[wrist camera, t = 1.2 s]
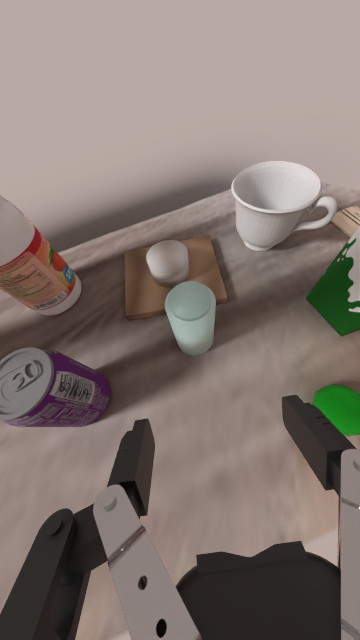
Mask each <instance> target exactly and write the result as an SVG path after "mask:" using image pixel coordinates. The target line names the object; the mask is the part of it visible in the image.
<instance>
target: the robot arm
mask: <svg viewBox="0 0 360 640" xmlns="http://www.w3.org/2000/svg"><path fill="white" fill-rule="evenodd" d="M282 413H283V421H284V425H285V427H286V429H287V431H288V432H289V434H290V435H291V437H292V439H293V440H294V442H295V443H296V445H297V446H298V448H299V450H300V451H301V453H302V454H303V456H304V457H305V459H306V460H307V462H308V464H309V465H310V467H311V468H312V470H313V471H314V473H315V475H316V476H317V478H318V479H319V481H320V482H321V484H322V486H323V487H324V489H325V490H332V489H334V490H335V491H336V493H337V494H338V496H339V504H338V557H337V566H335V565H334V564H332V563H331V562H329V561H328V560H326V559H324V558H322V557H320V556H318V555H315V554H313V553H310V552H306V551H305V549H304V547H303V545H302V542H301V541H296V542H289V543H281V544H275V545H273V546H271V547H269V548H268V549H266V550H264V551H262V552H260V553H259V554H257V555H255V556H253V557H250V558H249V557H244V556H239V555H235V554H230V553H226V552H215V553H208V554H200V555H197V566H195V567H194V568H192V569H191V570H190V571H188V572H187V573H186V574H185V575H184V576H183V577H182V578H181V580H180V581H179V583H178V584H177V585H176V587H175V585H174V583H173V581H172V579H171V577H170V575H169V574H168V572H167V570H166V568H165V566H164V564H163V562H162V560H161V558H160V556H159V554H158V552H157V550H156V548H155V546H154V544H153V542H152V540H151V539H150V537H149V535H148V533H147V531H146V529H145V527H143V526H142V524H141V522H140V516H146V515H147V512H148V503H149V495H150V486H151V477H152V469H153V460H154V452H155V442H154V437H153V433H152V430H151V426H150V423H149V420H148V419H142V420H136V421H135V423H134V426H133V430H132V431H127V432H126V434H125V435H124V437H123V438H122V439H121V443H120V446H119V450H118V452H117V457H116V459H115V462H114V466H113V469H112V472H111V475H110V479H109V482H108V485H107V488H106V489H104V490H103V491H102V492H101V493H100V494H99V496H98V497H97V499H96V501H95V503H94V504H92V505H90V506H89V507H87V508H85V509H83V510H81V511H79V512H77V513H75V514H73V513H72V511H71V510H70V509H61V510H59V511H57V512H55V513H54V514H52V515H51V516H50V517H49V518H48V519H47V520H46V521H45V522H44V524H43V525H42V527H41V528H40V530H39V532H38V534H37V536H36V538H35V540H34V543H33V545H32V547H31V549H30V551H29V553H28V556H27V558H26V560H25V562H24V564H23V566H22V569H21V571H20V573H19V575H18V577H17V579H16V582H15V584H14V586H13V588H12V590H11V592H10V595H9V597H8V599H7V601H6V603H5V605H4V608H3V610H2V612H1V614H0V640H75V637H76V633H77V628H78V624H79V620H80V616H81V611H82V607H83V603H84V599H85V594H86V590H87V586H88V582H89V577H90V573H91V570H93V569H95V568H96V567H98V566H100V565H101V564H103V563H105V562H106V561H108V566H109V570H110V573H111V576H112V580H113V583H114V586H115V589H116V592H117V596H118V599H119V602H120V605H121V608H122V612H123V615H124V618H125V621H126V625H127V628H128V631H129V634H130V637H131V640H360V450H357V449H356V448H355V447H354V446H353V445H352V444H351V442H350V441H349V440H348V439H347V438H346V437H345V436H344V435H343V434H342V433H341V432H340V431H339V430H338V429H337V428H336V426H335V425H334V424H332V422H331V421H330V420H329V419H328V418H326V416H325V415H324V414H323V413H322V412H321V410H320V409H319V408H317V407H315V406H314V405H312V404H310V403H303V401H302V400H301V399H300V398H299V397H298V396H297V395H291V396H285V397H282Z"/></svg>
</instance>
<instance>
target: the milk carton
mask: <svg viewBox="0 0 360 640" xmlns="http://www.w3.org/2000/svg"><path fill="white" fill-rule="evenodd" d="M306 299H307V300H308V301H309V302H310V303H311V304H312V305H313V306H314V308H315V309H316V310H317V311H318V312H319V313H320V314H321V315H322V316H323V317H324V318H325V319H326V320H327V322H328V323H329V324H330V325H331V326H332V327H333V328H334V329H335V330H336V331H337V332H338V333H339V335H340V336H344V335H346V334H348V333H351V332H354V331H356V330H359V329H360V226H359V228H358V229H357V230H356V232H355V233H354V234H353V236H352V237H351V238H350V239H349V241H348V242H347V243H346V245H345V246H344V247H343V249H342V250H341V251H340V253H339V254H338V255H337V257H336V258H335V259H334V260H333V262H332V263H331V264H330V266H329V267H328V268H327V270H326V271H325V272H324V274H323V275H322V277H321V278H320V279H319V281H318V282H317V283H316V285H315V286H314V288H313V289H312V290H311V292H310V293H309V295H308V296H307V297H306Z"/></svg>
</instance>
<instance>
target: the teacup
mask: <svg viewBox="0 0 360 640" xmlns="http://www.w3.org/2000/svg"><path fill="white" fill-rule="evenodd" d="M231 189H232V193H233V195H234V197H235V198H236V227H237V231H238V234H239V235H240V237H241V238H242V239H243V241H244V243H245V245H246V246H247V247H248V248H250V249H252V250H255V251H266V250H269V249H271V248H272V247H273V246H274V245H276V244H278V243H280V242H282V241H283V240H284V239H286V238H287V237H288V235H289V234H291V233H293V232H295V231H297V230H302V229H318V228H321V227H323V226H325V225H327V224H328V223H329V222H330V221H331V220H332V219H333V217H334V216H335V214H336V211H337V202H336V200H335V199H333V198H332V197H322V198H320V199H319V200H318V201H317V202H316V203H315V204H314V205H313V202H314V201H315V200H316V199H317V198H318V197H319V195H320V193H321V189H322V186H321V182H320V180H319V178H318V177H317V175H316V174H315V173H314V172H313V171H311V170H310V169H308V168H306V167H304V166H302V165H299V164H296V163H292V162H285V161H270V162H263V163H258V164H255V165H252V166H250V167H248V168H246V169H244V170H243V171H241V172H240V173H239V174H238V175H237V176H236V177H235V179H234V180H233V183H232V187H231ZM320 206H322V207H326V208H327V209H328V211H329V213H328V215H327V216H326V217H325V218H323V219H321V220H318V221H308V222H303V223H300V224H298V225H296V224H297V222H298V220H299V219H300V217H301V215H302V214H303V212H304V211H305V210H306V211H308V212H309V213H313V212H314V211H315V210H316V208H318V207H320ZM295 225H296V226H295Z"/></svg>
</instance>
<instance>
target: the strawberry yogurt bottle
mask: <svg viewBox="0 0 360 640" xmlns="http://www.w3.org/2000/svg"><path fill="white" fill-rule="evenodd" d="M0 289H2V290H3V291H5V292H6V293H8V294H9V295H11V296H12V297H14V298H15V299H17V300H18V301H20V302H21V303H23V304H24V305H26V306H27V307H29V308H30V309H32V310H33V311H35V312H37V313H39V314H42V315H57V314H60V313H62V312H64V311H66V310H68V309H69V308H70V307H71V306H73V305H74V304H75V302H76V301H77V300H78V298H79V296H80V294H81V290H82V286H81V282H80V279H79V278H78V276H77V275H76V274H75V273H74V271H73V270H72V269H71V268H70V267H69V266H68V264H67V263H66V262H65V261H64V260H63V259H62V258H61V256H60V255H59V254H58V253H57V252H56V251H55V250H54V248H53V247H52V246H51V245H50V244H49V243H48V241H47V240H46V239H45V238H44V237H43V236H42V235H41V233H40V232H39V231H38V230H37V229H36V227H35V226H34V225H33V224H32V223H31V221H30V220H29V219H28V218H27V217H26V216H25V215H24V214H23V213H22V212H21V211H20V210H19V209H18V208H17V207H16V206H15V205H14V204H12V203H11V202H10V201H8V200H6V199H4V198H3V197H2V196H1V195H0Z"/></svg>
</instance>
